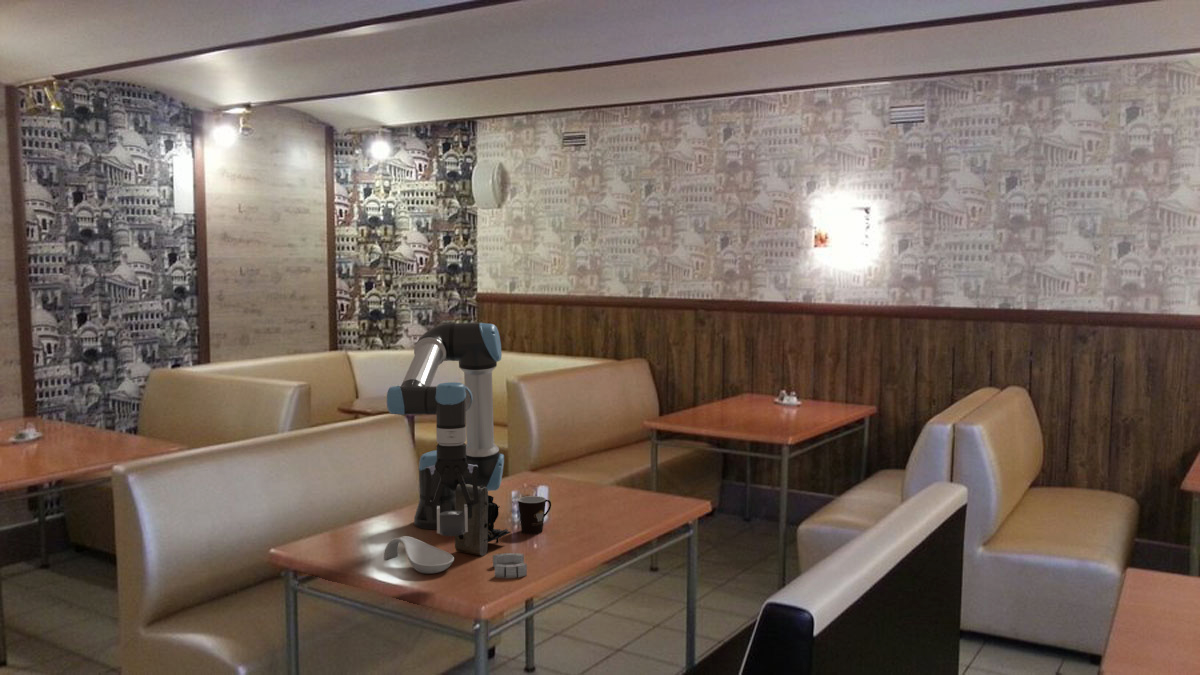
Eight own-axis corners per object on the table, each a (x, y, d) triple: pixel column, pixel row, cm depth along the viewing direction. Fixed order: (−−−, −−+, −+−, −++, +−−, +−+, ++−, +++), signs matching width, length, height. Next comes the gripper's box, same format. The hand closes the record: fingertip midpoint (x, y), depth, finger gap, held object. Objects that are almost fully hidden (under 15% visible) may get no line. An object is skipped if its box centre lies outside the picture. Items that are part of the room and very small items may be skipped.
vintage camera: (513, 545, 267) (513, 478, 266) (480, 557, 254) (480, 486, 253) (487, 541, 272) (487, 475, 271) (453, 552, 258) (453, 483, 258)
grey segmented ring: (492, 564, 247) (492, 553, 247) (523, 563, 249) (523, 552, 249) (495, 579, 236) (495, 567, 235) (527, 577, 237) (527, 566, 237)
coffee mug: (522, 536, 274) (522, 503, 274) (514, 529, 282) (514, 497, 282) (559, 532, 279) (559, 500, 278) (550, 525, 287) (550, 494, 286)
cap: (439, 530, 237) (439, 510, 237) (464, 529, 238) (464, 509, 238) (439, 536, 231) (439, 516, 230) (465, 535, 232) (465, 515, 232)
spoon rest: (463, 570, 244) (462, 543, 243) (429, 581, 235) (429, 554, 234) (405, 553, 258) (404, 528, 258) (371, 563, 249) (371, 538, 249)
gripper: (412, 447, 228) (413, 537, 230) (489, 444, 231) (490, 533, 233) (413, 441, 236) (414, 529, 237) (488, 439, 239) (489, 525, 240)
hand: (452, 531), depth 235 cm, fingers closed on cap, 6 cm apart
